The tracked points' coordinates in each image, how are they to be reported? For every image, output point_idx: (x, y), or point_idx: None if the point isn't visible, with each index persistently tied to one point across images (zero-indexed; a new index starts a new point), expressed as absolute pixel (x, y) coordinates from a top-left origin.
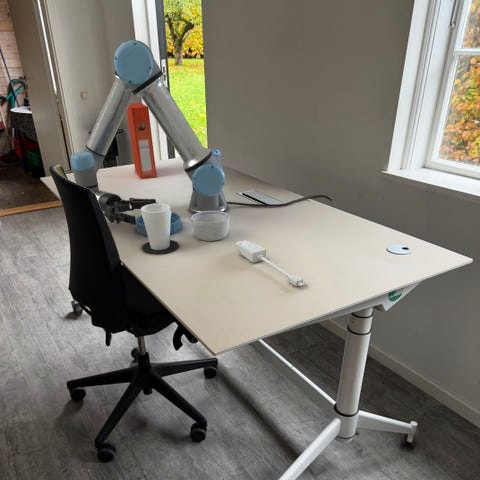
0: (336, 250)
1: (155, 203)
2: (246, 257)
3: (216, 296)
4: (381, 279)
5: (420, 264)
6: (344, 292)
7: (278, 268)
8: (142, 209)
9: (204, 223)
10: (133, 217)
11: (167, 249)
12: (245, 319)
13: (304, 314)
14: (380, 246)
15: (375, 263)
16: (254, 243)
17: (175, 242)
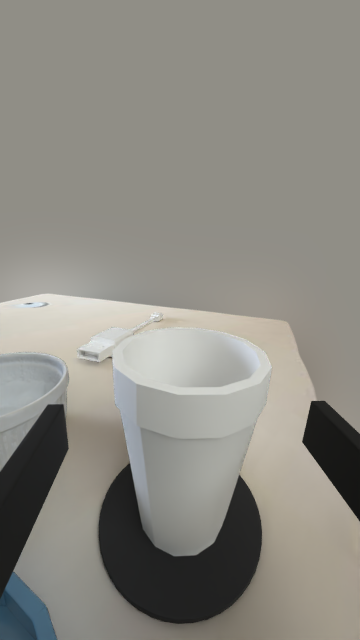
0: (49, 320)
1: (21, 474)
2: None
3: None
4: (109, 303)
5: (67, 299)
6: (147, 308)
7: (143, 323)
8: (258, 371)
9: (67, 368)
10: (323, 403)
11: None
12: (241, 322)
13: (198, 311)
14: (26, 309)
15: (76, 307)
16: (97, 334)
17: (117, 483)
